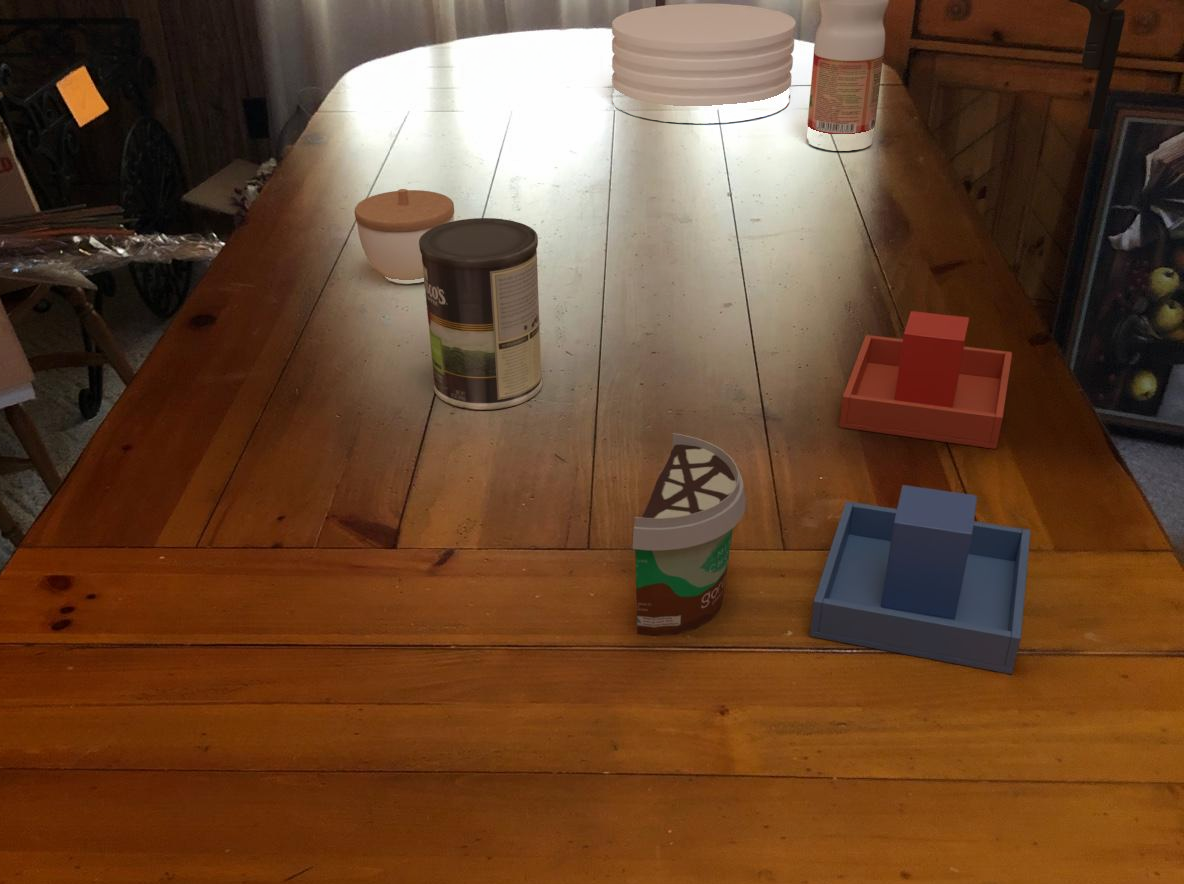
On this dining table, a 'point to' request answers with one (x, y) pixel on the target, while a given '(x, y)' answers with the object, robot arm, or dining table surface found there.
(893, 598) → the blue block
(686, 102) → the plate stack
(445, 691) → the dining table surface
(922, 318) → the red block
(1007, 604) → the blue tray
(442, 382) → the coffee can
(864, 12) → the fruit juice
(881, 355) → the red tray
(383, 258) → the trinket box
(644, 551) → the food container
